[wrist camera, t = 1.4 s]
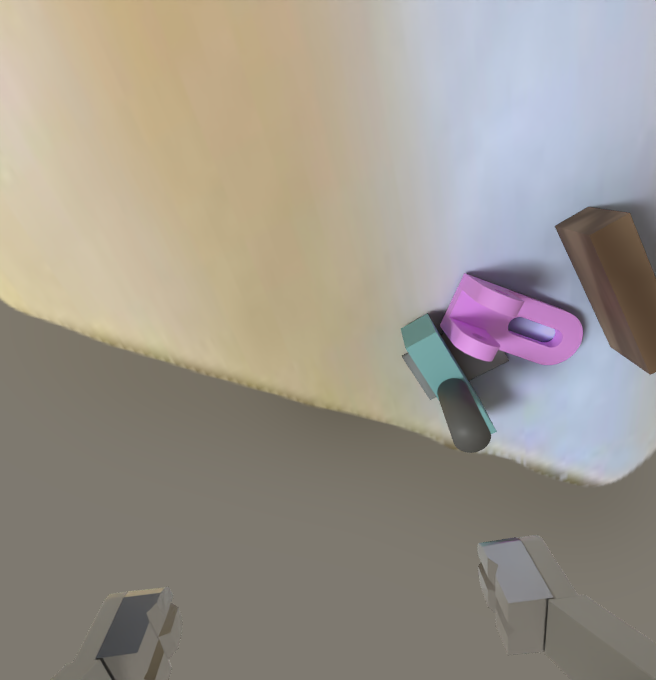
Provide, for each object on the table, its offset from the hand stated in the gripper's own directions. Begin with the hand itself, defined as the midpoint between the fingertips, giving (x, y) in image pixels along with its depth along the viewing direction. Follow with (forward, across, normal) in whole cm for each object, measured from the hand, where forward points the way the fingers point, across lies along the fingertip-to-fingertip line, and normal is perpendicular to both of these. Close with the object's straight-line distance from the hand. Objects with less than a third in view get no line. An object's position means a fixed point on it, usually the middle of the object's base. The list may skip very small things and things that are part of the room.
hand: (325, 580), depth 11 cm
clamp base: (+30, -18, +7) cm, 36 cm away
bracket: (+30, -18, +6) cm, 36 cm away
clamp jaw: (+31, -11, +10) cm, 34 cm away
